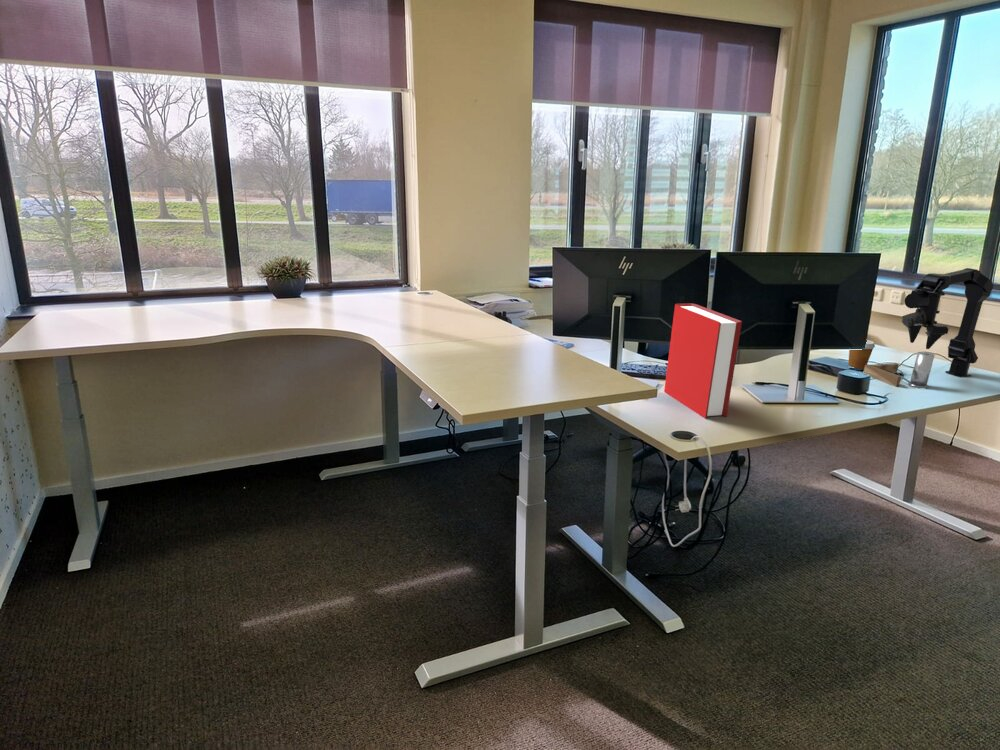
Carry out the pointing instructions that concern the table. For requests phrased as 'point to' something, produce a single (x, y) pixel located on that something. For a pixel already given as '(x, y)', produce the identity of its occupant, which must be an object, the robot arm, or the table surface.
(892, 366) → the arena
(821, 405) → the table surface
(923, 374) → the silver metal can
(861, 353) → the disposable coffee cup
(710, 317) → the book
